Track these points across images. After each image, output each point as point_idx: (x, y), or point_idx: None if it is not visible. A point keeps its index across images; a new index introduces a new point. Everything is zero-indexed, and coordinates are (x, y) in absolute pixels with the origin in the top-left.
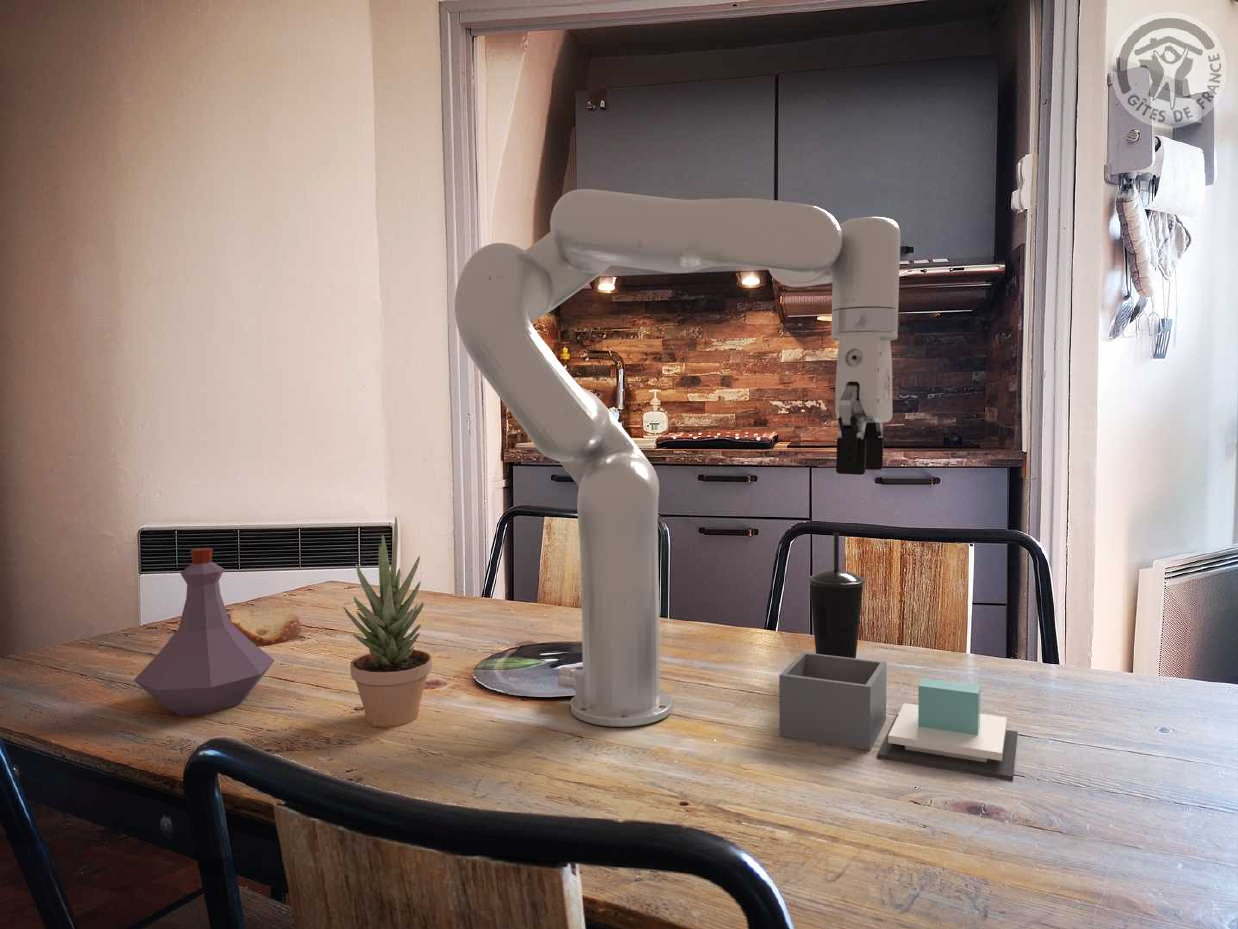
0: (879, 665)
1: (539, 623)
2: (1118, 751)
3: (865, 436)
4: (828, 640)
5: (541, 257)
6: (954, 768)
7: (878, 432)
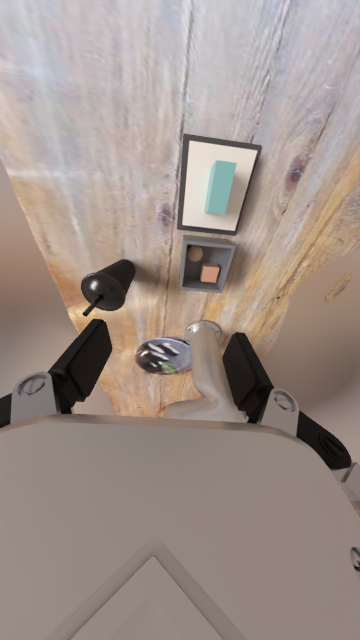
0: (193, 244)
1: (123, 377)
2: (195, 5)
3: (77, 394)
4: (131, 280)
5: None
6: (248, 189)
7: (54, 389)
